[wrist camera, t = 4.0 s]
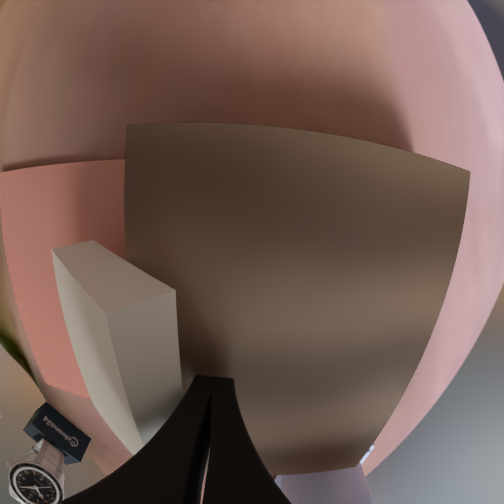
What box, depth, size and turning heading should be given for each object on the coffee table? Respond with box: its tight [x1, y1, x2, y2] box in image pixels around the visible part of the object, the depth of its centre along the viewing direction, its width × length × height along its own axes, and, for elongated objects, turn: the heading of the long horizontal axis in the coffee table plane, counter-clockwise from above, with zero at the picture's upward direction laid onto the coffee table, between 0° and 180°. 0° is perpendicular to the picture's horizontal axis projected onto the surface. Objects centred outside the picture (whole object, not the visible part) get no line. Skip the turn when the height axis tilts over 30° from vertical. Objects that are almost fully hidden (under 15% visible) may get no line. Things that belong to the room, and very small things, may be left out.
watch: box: [6, 402, 91, 504], centre depth 12 cm, size 6×8×11 cm
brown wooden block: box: [124, 122, 470, 475], centre depth 12 cm, size 18×12×4 cm, turn 176°
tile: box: [51, 240, 184, 456], centre depth 9 cm, size 9×6×2 cm
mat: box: [0, 159, 126, 399], centre depth 13 cm, size 16×11×1 cm
